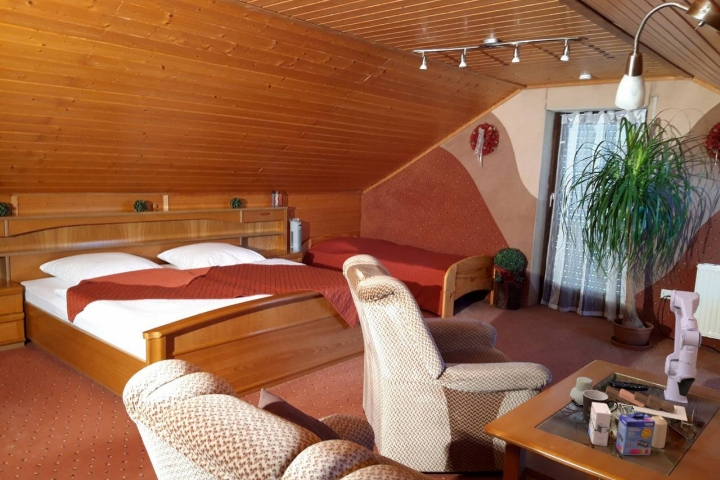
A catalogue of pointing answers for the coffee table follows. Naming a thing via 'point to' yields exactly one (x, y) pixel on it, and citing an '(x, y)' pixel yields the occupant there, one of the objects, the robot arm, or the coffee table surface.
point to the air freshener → (581, 389)
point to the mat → (659, 411)
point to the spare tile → (630, 397)
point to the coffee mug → (596, 397)
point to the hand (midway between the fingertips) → (682, 395)
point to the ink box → (599, 423)
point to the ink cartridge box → (635, 434)
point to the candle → (659, 432)
